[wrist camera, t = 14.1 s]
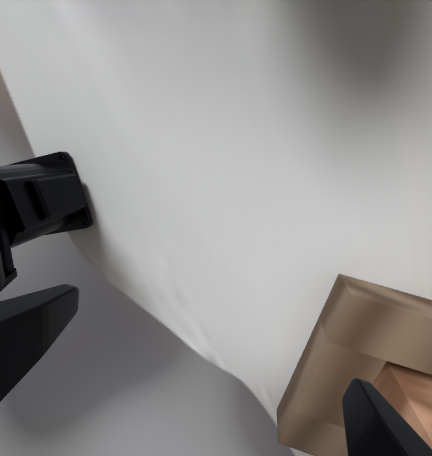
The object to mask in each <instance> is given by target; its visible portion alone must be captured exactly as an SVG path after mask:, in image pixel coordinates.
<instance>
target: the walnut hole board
mask: <svg viewBox="0 0 432 456" xmlns="http://www.w3.org/2000/svg"><path fill="white" fill-rule="evenodd" d="M386 361H389V362H392V363H395V364H399V365H402V366H405V367H408V368H411V369H415V370H418V371H421V372H424V373H427V374H431V375H432V300H429V299H425V298H422V297H418V296H415V295H411V294H408V293H404V292H401V291H398V290H394V289H391V288H387V287H384V286H380V285H377V284H373V283H370V282H366V281H363V280H359V279H356V278H352V277H349V276H345V275H342V274H339V275H338V277H337V279H336V281H335V284H334V286H333V288H332V290H331V292H330V295H329V297H328V299H327V301H326V303H325V305H324V308H323V310H322V312H321V314H320V316H319V319H318V321H317V323H316V325H315V327H314V330H313V332H312V334H311V336H310V338H309V341H308V343H307V345H306V347H305V349H304V351H303V354H302V356H301V358H300V360H299V362H298V365H297V367H296V369H295V371H294V373H293V376H292V378H291V380H290V382H289V384H288V387H287V389H286V391H285V393H284V395H283V397H282V400H281V402H280V404H279V406H278V408H277V425H278V443H280V444H283V445H286V446H288V447H291V448H294V449H297V450H300V451H303V452H305V453H308V454H311V455H314V456H348V452H347V443H346V435H345V427H344V418H343V410H342V397H343V395H344V393H345V391H346V389H347V388H348V386H349V384H350V382H351V381H352V379H354V378H360V379H363V380H366V381H368V382H370V383H371V384H373V383H374V381H375V379H376V378H377V376H378V374H379V373H380V371H381V370H382V368H383V366H384V365H385V363H386Z"/></svg>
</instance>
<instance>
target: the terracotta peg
mask: <svg viewBox="0 0 432 456" xmlns="http://www.w3.org/2000/svg"><path fill="white" fill-rule="evenodd" d="M372 385H373V386H374V387H375V388H376V389H377V390H378V391H379V392H380V393H381V395H382V396H383V397H384V398H385V399H386V400H387V401H388V402H389V403H390V404H391V405H392V406H393V408H394V409H395V410H396V411H397V412H398V413H399V414H400V415H401V416H402V417H403V418H404V419H405V421H406V422H407V423H408V424H409V425H410V426H411V427H412V428H413V429H414V430H415V431H416V433H417V434H418V435H419V436H420V437H421V438H422V439H423V440H424V441H425V442H426V443H427V444H428V446H429V447H430V448H431V449H432V375H431V374H427V373H424V372H421V371H418V370H415V369H411V368H408V367H405V366H402V365H399V364H395V363H392V362H389V361H386V363H385V365H384V366H383V368H382V370H381V371H380V373H379V374H378V376H377V378H376V379H375V381H374V383H373V384H372Z"/></svg>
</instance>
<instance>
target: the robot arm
mask: <svg viewBox="0 0 432 456" xmlns="http://www.w3.org/2000/svg"><path fill="white" fill-rule="evenodd" d="M63 156H64V160H63ZM85 220H86V221H87V223H86V222H85ZM92 224H93V220H92V218H91V215H90V212H89V209H88V206H87V203H86V200H85V197H84V195H83V192H82V189H81V186H80V183H79V180H78V177H77V174H76V171H75V169H74V166H73V163H72V160H71V157H70V155H69V154H68V153H67V152H57V153H53V154H49V155H45V156H41V157H37V158H33V159H29V160H25V161H21V162H17V163H13V164H10V165H6V166H0V291H2V290H3V289H4V288H5V287H6V286H7V285H8V284H9V283H10V282H11V281H12V280H13V279H14V278H16V277H17V272H16V268H14V264H13V259H12V253H11V248H13V247H15V246H18V245H20V244H23V243H25V242H27V241H30V240H32V239H35V238H37V237H40V236H42V235H48V234H54V233H60V232H66V231H72V230H78V229H84V228H88V227H90V226H92ZM78 300H79V289H78V288H77V287H75V286H72V285H69V284H63V285H60V286H56V287H52V288H48V289H45V290H41V291H37V292H34V293H30V294H26V295H22V296H19V297H15V298H11V299H8V300H4V301H0V402H1V400H2V399H3V398H4V397H5V396H6V395H7V394H8V393H9V392H10V391H11V389H12V388H14V386H15V385H16V384H17V383H18V382H19V381H20V380H21V379H22V378H23V377H24V376H25V375H26V374H27V373H28V372H29V370H30V369H31V368H32V367H33V366H34V365H35V364H36V363H37V362H38V361H39V360H40V359H41V357H42V356H43V355H44V354H45V353H46V351H47V350H48V349H49V348H50V346H51V345H52V344H53V343H54V341H55V340H56V339H57V337H58V336H59V335H60V333H61V332H62V331H63V330H64V328H65V327H66V326H67V324H68V323H69V322H70V321H71V319H72V318H73V317H74V315H75V314H76V312H77V310H78ZM342 410H343V418H344V427H345V435H346V443H347V452H348V456H432V449H431V448H430V447H429V446H428V444H427V443H426V442H425V441H424V440H423V439H422V438H421V437H420V436H419V435H418V434H417V433H416V431H415V430H414V429H413V428H412V427H411V426H410V425H409V424H408V423H407V422H406V421H405V419H404V418H403V417H402V416H401V415H400V414H399V413H398V412H397V411H396V410H395V409H394V408H393V406H392V405H391V404H390V403H389V402H388V401H387V400H386V399H385V398H384V397H383V396H382V395H381V393H380V392H379V391H378V390H377V389H376V388H375V387H374V386H373V385H372V384H371V383H370V382H368V381H366V380H363V379H360V378H354V379H352V381H351V382H350V384H349V386H348V388H347V389H346V391H345V393H344V395H343V397H342Z"/></svg>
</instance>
